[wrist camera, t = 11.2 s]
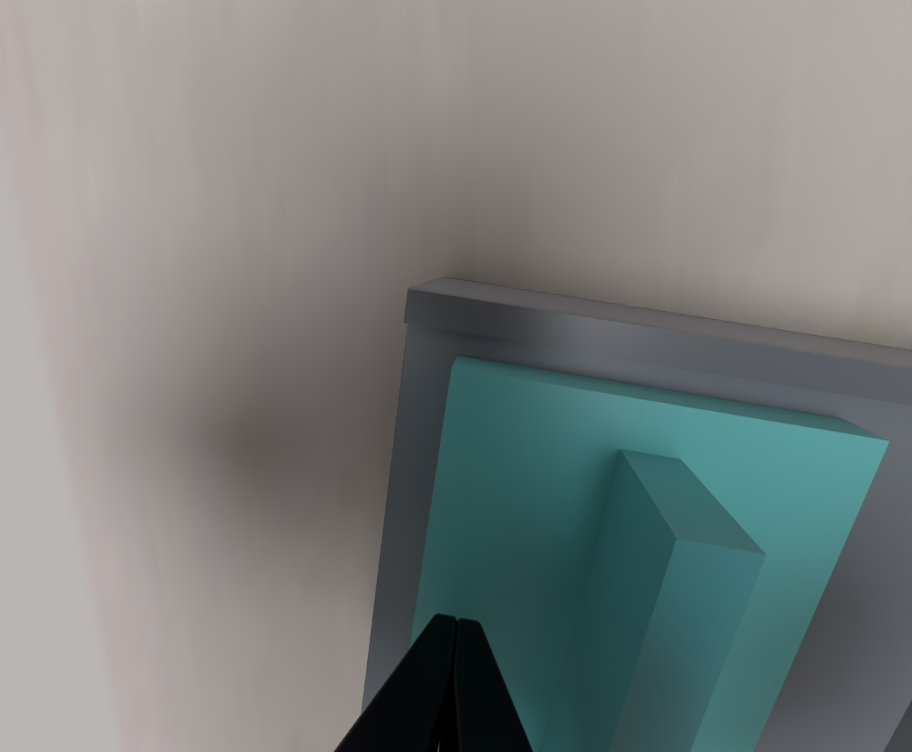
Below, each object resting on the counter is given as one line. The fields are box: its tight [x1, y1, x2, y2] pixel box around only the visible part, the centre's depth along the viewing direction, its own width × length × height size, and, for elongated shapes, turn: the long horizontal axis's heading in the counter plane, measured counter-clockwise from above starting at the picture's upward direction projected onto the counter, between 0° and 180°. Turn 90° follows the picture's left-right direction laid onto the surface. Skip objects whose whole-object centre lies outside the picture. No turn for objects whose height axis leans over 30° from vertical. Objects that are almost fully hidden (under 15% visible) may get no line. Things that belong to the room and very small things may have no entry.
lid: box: [410, 355, 889, 752], centre depth 8 cm, size 10×7×4 cm
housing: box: [361, 277, 912, 752], centre depth 11 cm, size 12×24×5 cm, turn 82°
